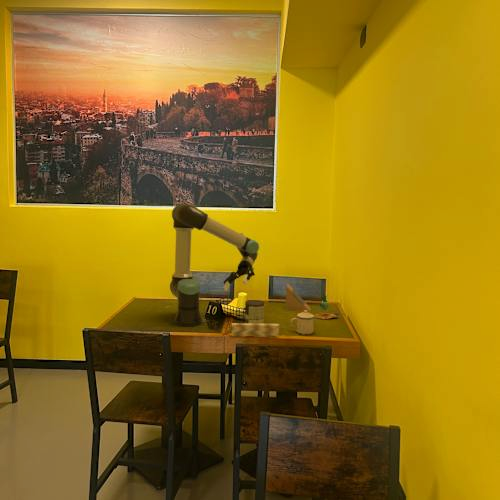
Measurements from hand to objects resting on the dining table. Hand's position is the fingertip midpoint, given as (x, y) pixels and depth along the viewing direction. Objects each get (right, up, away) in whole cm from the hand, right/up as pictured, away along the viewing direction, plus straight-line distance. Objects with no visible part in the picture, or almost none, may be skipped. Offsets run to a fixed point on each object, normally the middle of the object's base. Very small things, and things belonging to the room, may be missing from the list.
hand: (234, 286), depth 257 cm
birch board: (+11, -24, -18) cm, 32 cm away
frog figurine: (+53, -20, +18) cm, 59 cm away
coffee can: (+11, -22, -5) cm, 25 cm away
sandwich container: (+39, -17, +37) cm, 56 cm away
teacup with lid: (+36, -23, -10) cm, 44 cm away
